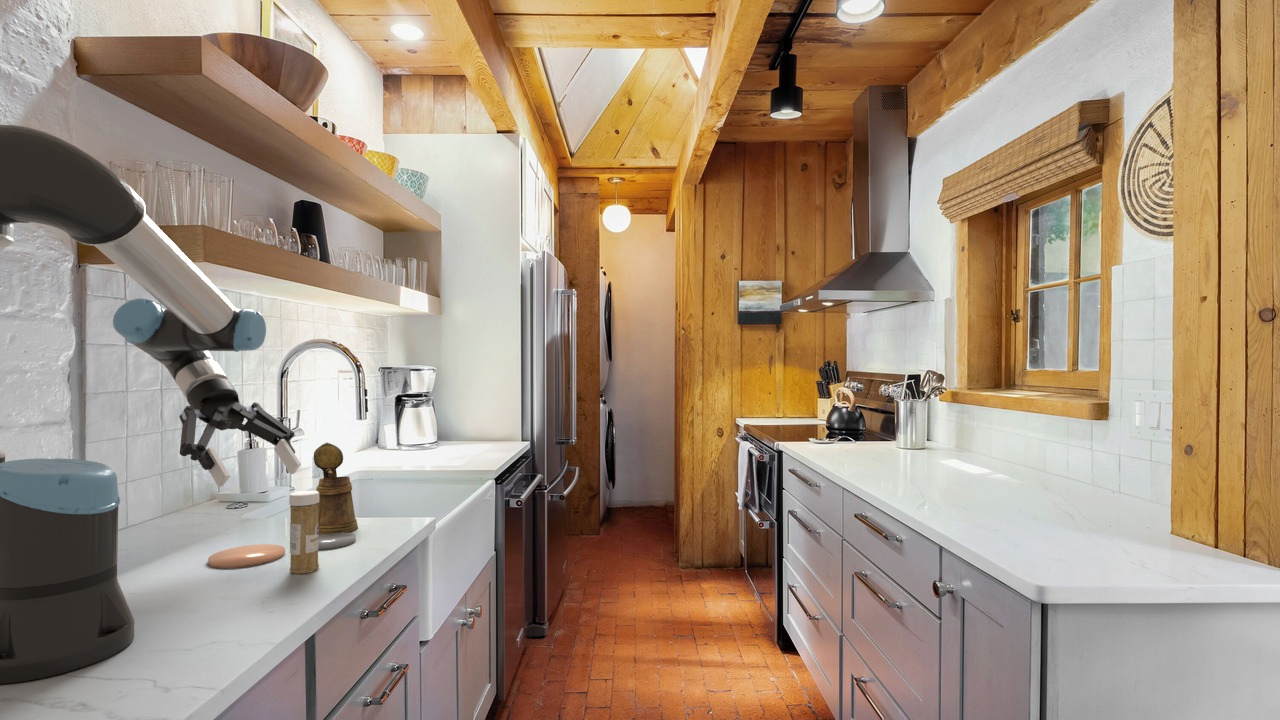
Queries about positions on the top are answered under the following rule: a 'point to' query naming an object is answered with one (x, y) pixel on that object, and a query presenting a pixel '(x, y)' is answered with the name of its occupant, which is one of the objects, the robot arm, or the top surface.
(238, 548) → the terracotta coaster
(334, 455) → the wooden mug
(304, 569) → the sprinkles bottle
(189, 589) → the top surface
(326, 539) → the slate coaster
